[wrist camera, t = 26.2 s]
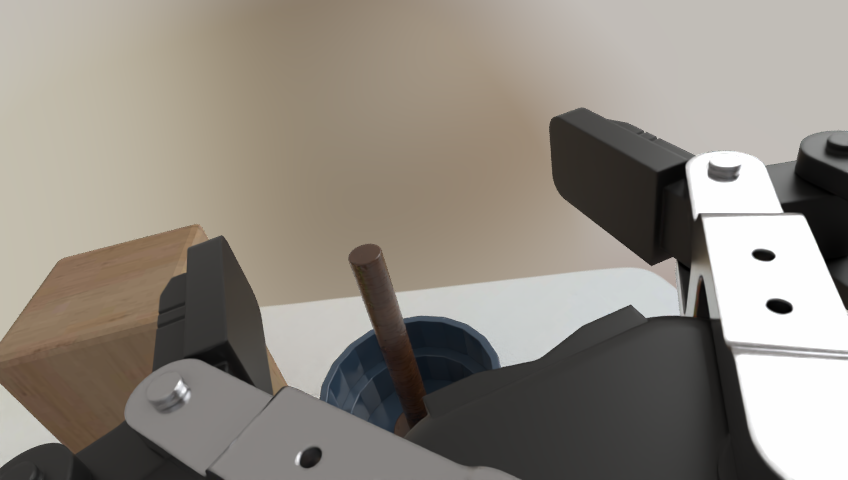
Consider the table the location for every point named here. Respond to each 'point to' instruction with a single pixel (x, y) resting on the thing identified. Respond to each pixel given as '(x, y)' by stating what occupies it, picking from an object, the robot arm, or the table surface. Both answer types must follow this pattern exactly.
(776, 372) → the robot arm
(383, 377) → the bowl
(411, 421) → the stirring stick
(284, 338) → the table surface
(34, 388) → the wooden block
